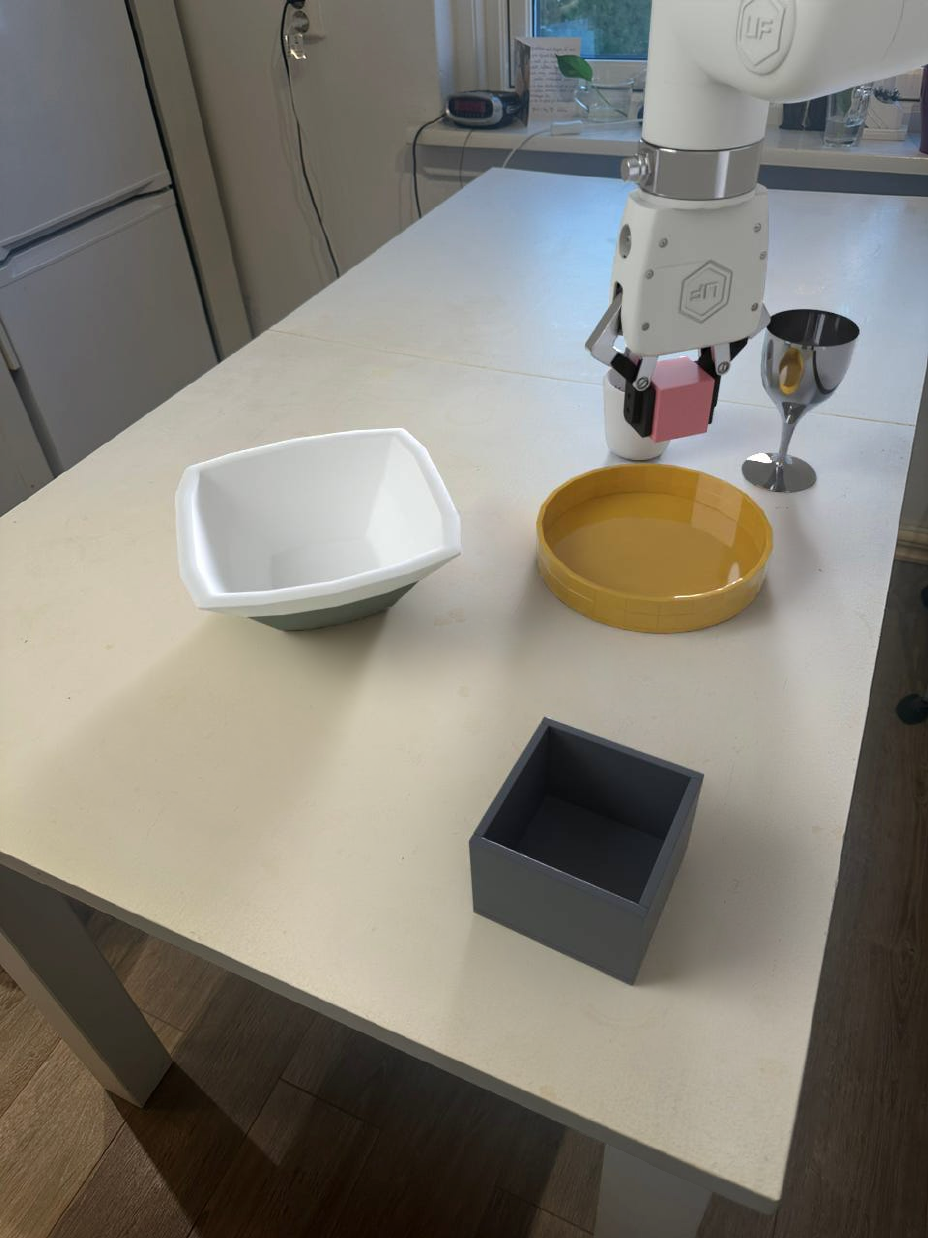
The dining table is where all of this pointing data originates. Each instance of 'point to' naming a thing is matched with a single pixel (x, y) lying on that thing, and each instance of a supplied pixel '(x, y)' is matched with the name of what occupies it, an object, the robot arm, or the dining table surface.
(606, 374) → the cup
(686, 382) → the block
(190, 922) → the dining table surface
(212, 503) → the bowl
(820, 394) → the wine glass
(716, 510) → the yellow bowl
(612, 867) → the grey bin
